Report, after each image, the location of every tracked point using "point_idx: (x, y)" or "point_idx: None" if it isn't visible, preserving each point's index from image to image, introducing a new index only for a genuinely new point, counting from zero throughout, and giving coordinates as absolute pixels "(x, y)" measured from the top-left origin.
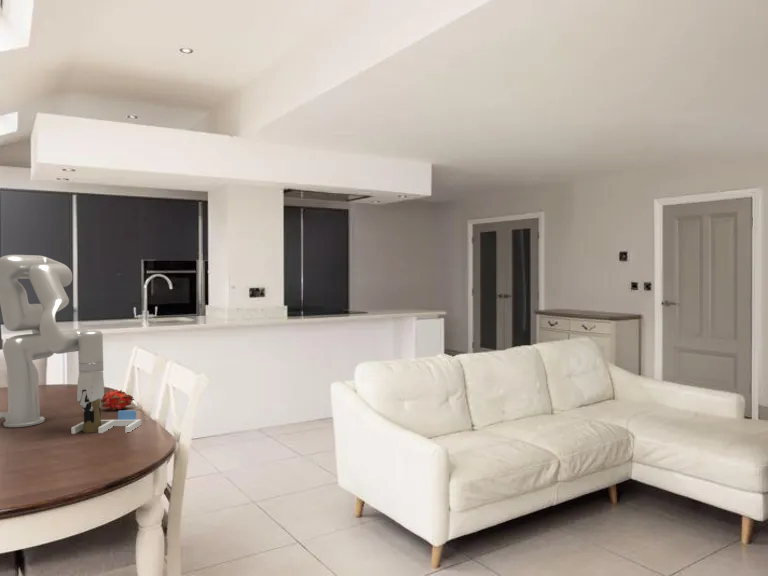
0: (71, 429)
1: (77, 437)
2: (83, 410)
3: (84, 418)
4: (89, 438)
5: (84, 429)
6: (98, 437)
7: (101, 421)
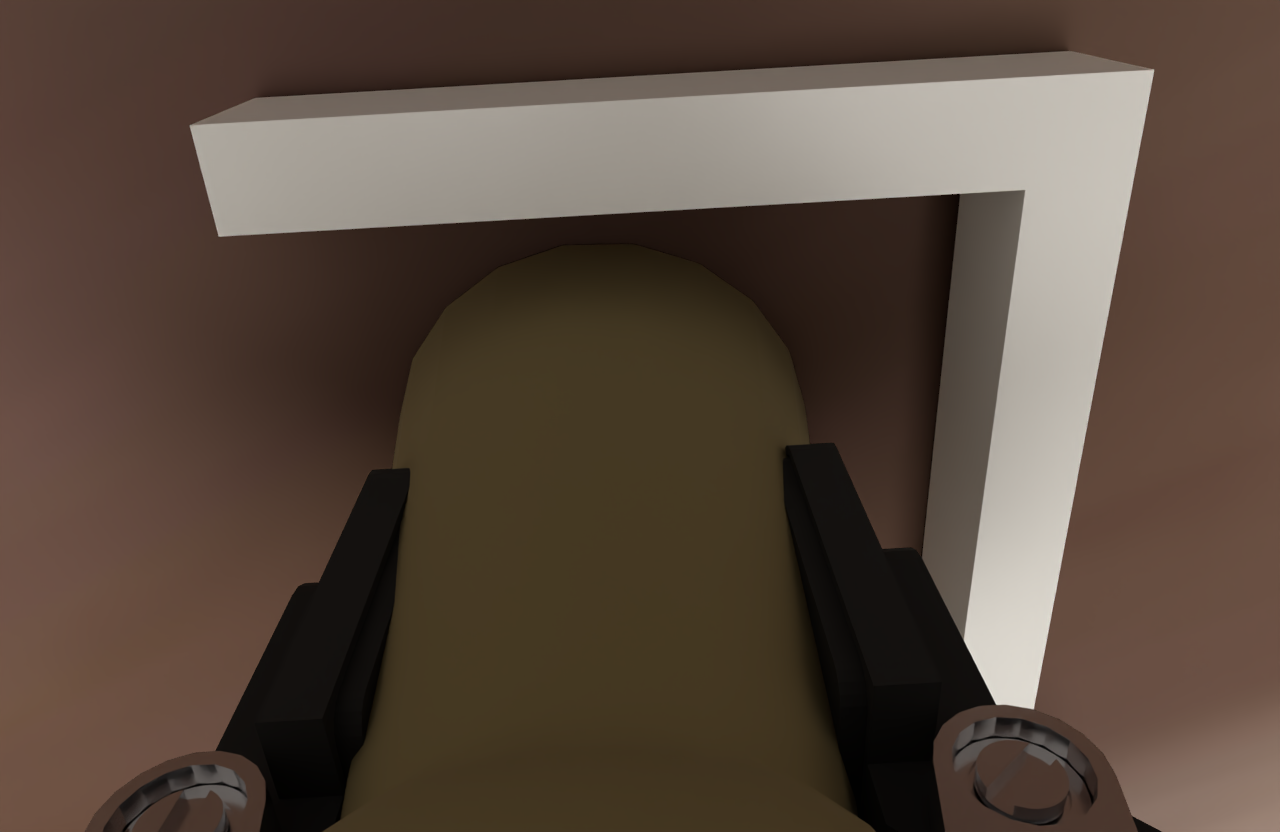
0: (216, 119)
1: (6, 432)
2: (107, 821)
3: (348, 546)
4: (22, 676)
5: (410, 384)
6: (128, 774)
7: (969, 525)
